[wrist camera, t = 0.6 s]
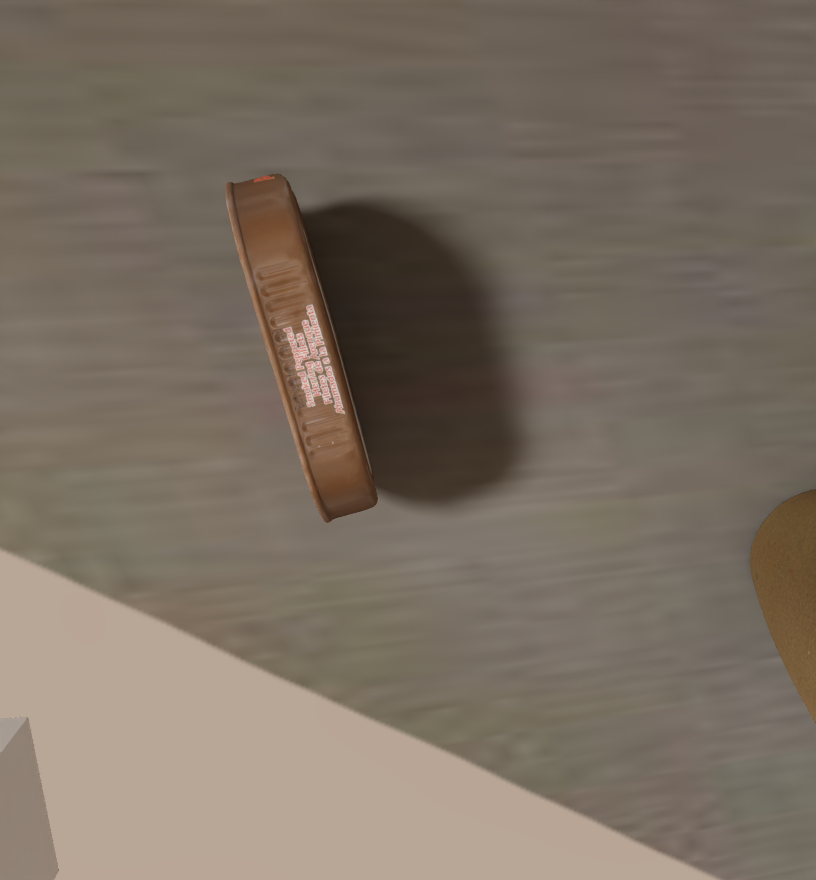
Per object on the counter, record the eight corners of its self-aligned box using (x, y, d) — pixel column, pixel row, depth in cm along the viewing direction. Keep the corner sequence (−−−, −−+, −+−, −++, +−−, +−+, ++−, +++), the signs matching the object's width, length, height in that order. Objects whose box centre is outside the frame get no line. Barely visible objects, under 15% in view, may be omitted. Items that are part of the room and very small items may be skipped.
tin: (239, 193, 34) (195, 174, 26) (304, 176, 34) (281, 152, 26) (327, 490, 38) (312, 555, 30) (385, 475, 38) (388, 536, 30)
